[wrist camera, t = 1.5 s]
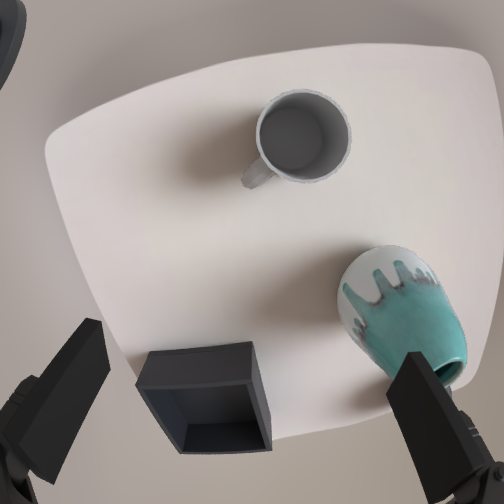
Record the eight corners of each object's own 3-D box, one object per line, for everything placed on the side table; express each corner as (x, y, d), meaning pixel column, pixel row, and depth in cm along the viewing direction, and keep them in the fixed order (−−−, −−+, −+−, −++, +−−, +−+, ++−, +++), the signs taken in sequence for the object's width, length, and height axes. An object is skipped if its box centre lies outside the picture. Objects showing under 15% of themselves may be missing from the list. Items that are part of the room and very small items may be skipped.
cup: (339, 142, 29) (369, 142, 20) (269, 204, 31) (274, 226, 23) (292, 91, 27) (306, 70, 18) (221, 154, 29) (207, 158, 21)
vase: (391, 326, 36) (449, 423, 20) (315, 311, 36) (351, 428, 19) (427, 249, 33) (519, 323, 16) (349, 223, 32) (432, 303, 15)
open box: (149, 351, 38) (134, 385, 32) (252, 341, 37) (251, 378, 31) (186, 422, 44) (179, 454, 37) (270, 417, 43) (272, 450, 36)
